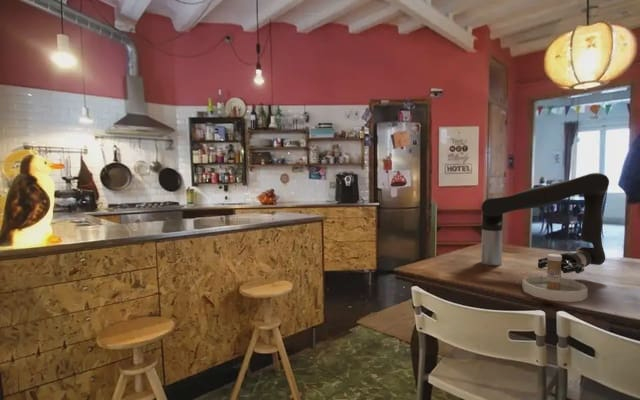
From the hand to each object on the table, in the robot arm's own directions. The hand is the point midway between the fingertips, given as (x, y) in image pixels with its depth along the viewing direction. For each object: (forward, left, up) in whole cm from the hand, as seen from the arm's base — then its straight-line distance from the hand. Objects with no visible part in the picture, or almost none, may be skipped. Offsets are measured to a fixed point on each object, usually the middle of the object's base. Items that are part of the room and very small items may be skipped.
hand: (551, 268), depth 134 cm
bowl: (+1, +2, -10) cm, 10 cm away
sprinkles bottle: (+1, +2, -9) cm, 9 cm away
